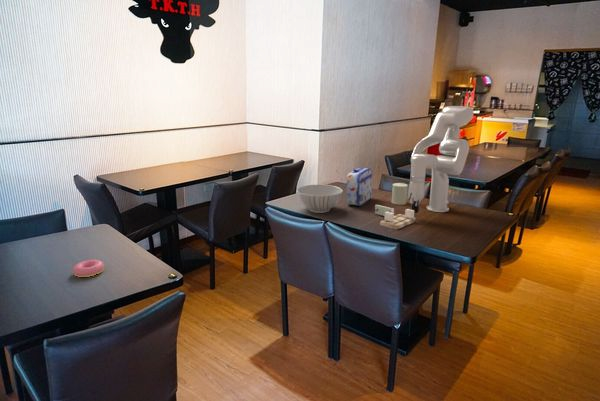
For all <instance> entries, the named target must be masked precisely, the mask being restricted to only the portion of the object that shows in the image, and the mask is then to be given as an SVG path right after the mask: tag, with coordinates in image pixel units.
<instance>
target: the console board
mask: <svg viewBox="0 0 600 401" xmlns="http://www.w3.org/2000/svg"><path fill="white" fill-rule="evenodd" d="M415 222H416V217H414V218H412V219H411V218H407V217H405V214H401V213H399V214H398V213H397V214H396V215H395V214H394V221H387V220H384V219H383V220H381V221H380V222H379V225H380V226H381V227H386V228H388V229H392V230H393V229H394V230H396V231H397V230H399V229H401V228H403V227H406V226H408V225H410V224H413V223H415Z"/></svg>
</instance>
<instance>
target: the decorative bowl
mask: <svg viewBox="0 0 600 401" xmlns="http://www.w3.org/2000/svg"><path fill="white" fill-rule="evenodd" d="M343 192H344V190H343V189H342V188H341V187H339V186H336V185H330V184H310V185H309V184H308V185H304V186H300V187H298V188H297V189H296V194H297V197H298V199H299V201H300V202H301V204H302V205H303V206H304V207H305V208H307V209H308V211H309V212H312V213H315V214H316V213H317V214H323V213H328V212H330V210H331V209H332V208H334V207H335V206H336V205H337V204H338V203H339V202H340V200H341V198H342V196H343Z"/></svg>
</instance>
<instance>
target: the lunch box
mask: <svg viewBox="0 0 600 401" xmlns="http://www.w3.org/2000/svg"><path fill="white" fill-rule="evenodd" d="M372 170H373V169H372V168H371V167H368V168H367V167H359V168H356V169H355V168H354V169H353V170H352V171H351V172H348V174H347V175H346V204H347V205H351V206H358V207H361V206H363V204H366V202H368V201H369V200H371V198H372V194H373V192H372V191H373V182H372V181H373V171H372Z"/></svg>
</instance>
